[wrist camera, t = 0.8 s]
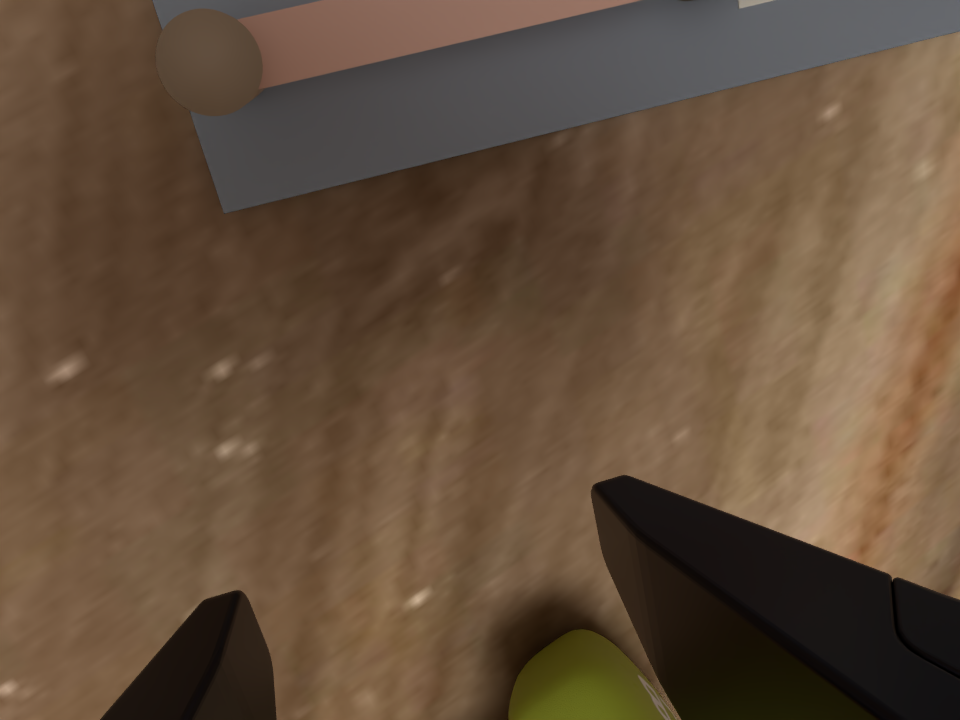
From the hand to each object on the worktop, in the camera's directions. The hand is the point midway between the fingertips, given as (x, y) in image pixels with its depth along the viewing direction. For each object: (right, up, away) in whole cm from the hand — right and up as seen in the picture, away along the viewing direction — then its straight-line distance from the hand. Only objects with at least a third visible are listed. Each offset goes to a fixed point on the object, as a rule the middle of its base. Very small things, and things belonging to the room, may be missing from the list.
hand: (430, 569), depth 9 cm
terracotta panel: (-1, +10, +9) cm, 13 cm away
